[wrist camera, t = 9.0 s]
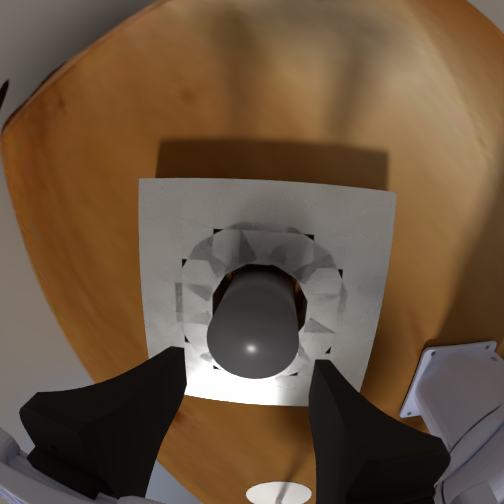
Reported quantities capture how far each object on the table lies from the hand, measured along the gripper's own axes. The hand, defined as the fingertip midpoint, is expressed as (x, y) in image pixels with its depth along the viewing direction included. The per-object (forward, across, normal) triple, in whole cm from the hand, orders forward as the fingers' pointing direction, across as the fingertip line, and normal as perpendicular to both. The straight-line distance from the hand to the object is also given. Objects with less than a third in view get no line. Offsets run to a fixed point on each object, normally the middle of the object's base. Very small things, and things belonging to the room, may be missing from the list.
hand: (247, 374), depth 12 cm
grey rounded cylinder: (+9, 0, 0) cm, 9 cm away
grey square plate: (+9, 0, 0) cm, 9 cm away
